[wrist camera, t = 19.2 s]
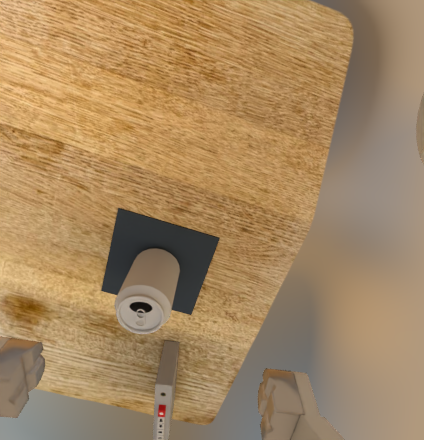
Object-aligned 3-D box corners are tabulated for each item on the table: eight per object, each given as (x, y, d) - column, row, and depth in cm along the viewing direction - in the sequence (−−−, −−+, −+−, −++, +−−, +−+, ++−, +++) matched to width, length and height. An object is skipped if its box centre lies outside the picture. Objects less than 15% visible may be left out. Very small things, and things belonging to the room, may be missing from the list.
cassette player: (164, 340, 56) (154, 389, 47) (179, 341, 56) (171, 391, 47) (161, 396, 63) (151, 450, 53) (174, 398, 63) (166, 451, 53)
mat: (219, 237, 47) (219, 238, 47) (191, 314, 54) (191, 314, 53) (118, 208, 46) (118, 208, 45) (101, 290, 52) (101, 290, 52)
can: (181, 247, 48) (170, 295, 37) (179, 286, 51) (168, 341, 40) (134, 243, 48) (108, 290, 37) (135, 282, 51) (111, 337, 40)
